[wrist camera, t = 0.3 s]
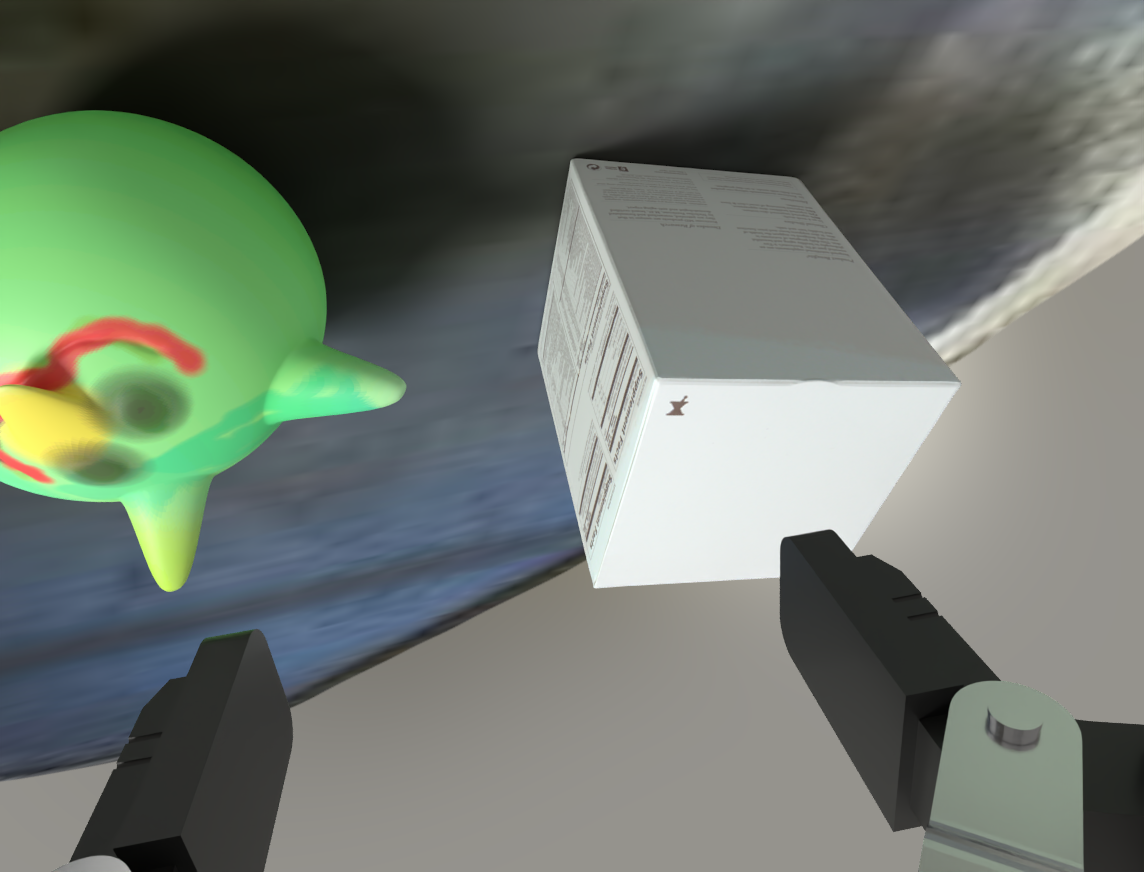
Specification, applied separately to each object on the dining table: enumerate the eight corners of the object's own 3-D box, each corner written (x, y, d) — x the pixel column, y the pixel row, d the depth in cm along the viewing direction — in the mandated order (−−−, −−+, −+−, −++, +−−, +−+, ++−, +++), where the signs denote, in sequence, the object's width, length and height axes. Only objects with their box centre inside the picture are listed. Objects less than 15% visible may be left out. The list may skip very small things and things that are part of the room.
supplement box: (532, 356, 49) (586, 593, 37) (567, 152, 40) (653, 377, 28) (730, 361, 52) (839, 580, 40) (803, 173, 44) (972, 381, 31)
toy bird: (94, -33, 31) (-38, 128, 21) (413, 236, 42) (427, 429, 32) (-119, 252, 38) (-299, 481, 27) (206, 423, 48) (163, 634, 38)
